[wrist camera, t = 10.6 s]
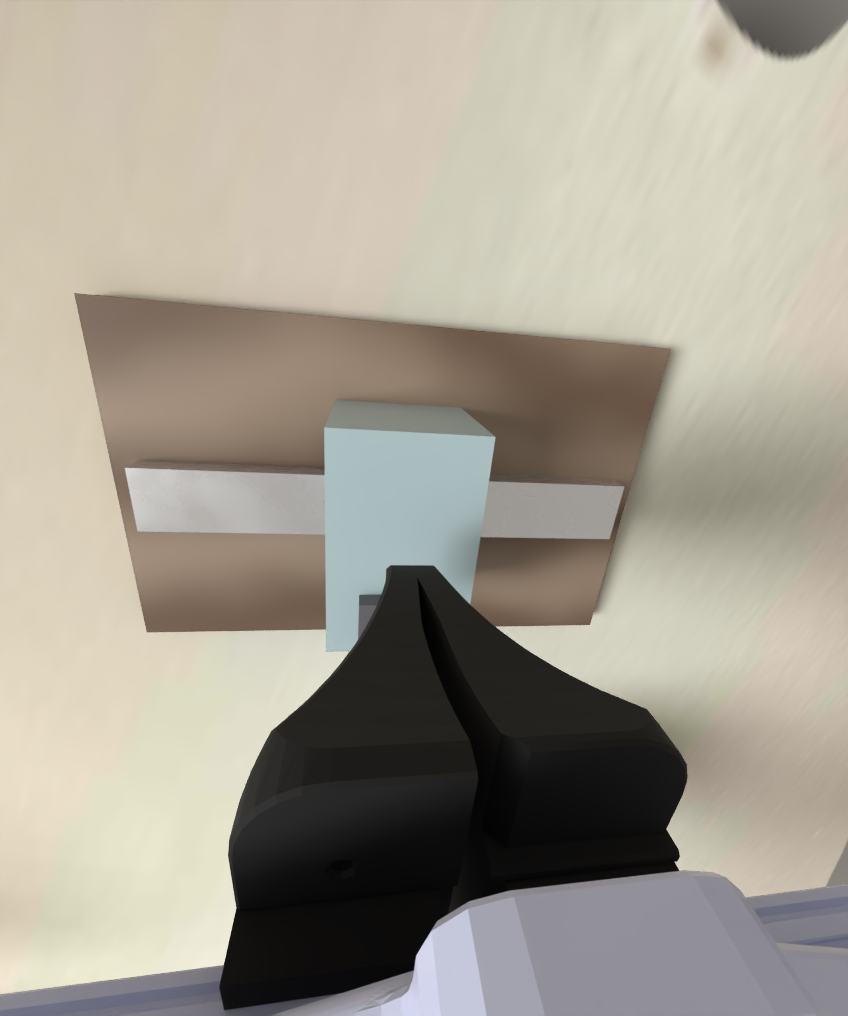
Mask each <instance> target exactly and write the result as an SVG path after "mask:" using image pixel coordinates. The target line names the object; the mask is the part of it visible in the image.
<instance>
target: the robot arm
mask: <svg viewBox="0 0 848 1016" xmlns="http://www.w3.org/2000/svg"><path fill="white" fill-rule="evenodd" d="M686 782H687V764H686V762H685V761H684V759H683V757H682V755H681V754H680V752H679V751H678V749H677V748H676V747H675V745H674V744H673V743H672V741H671V740H670V739H669V737H668V736H667V735H666V733H665V732H664V731H663V729H662V728H661V727H660V725H659V724H658V723H657V721H656V720H655V719H654V717H653V716H652V715H651V714H650V713H649V711H648V710H647V709H645V708H642V707H640V706H638V705H635V704H633V703H630V702H628V701H625V700H623V699H621V698H618V697H616V696H613V695H611V694H608V693H606V692H604V691H601V690H599V689H597V688H595V687H593V686H591V685H589V684H587V683H585V682H582V681H580V680H578V679H576V678H574V677H572V676H570V675H569V674H567V673H565V672H563V671H561V670H559V669H557V668H556V667H554V666H552V665H550V664H549V663H547V662H546V661H544V660H542V659H541V658H539V657H537V656H536V655H534V654H532V653H531V652H529V651H528V650H526V649H525V648H523V647H522V646H520V645H519V644H517V643H516V642H515V641H513V640H512V639H511V638H509V637H508V636H507V635H505V634H504V633H502V632H501V631H500V630H499V629H497V628H496V627H495V626H494V625H492V624H491V623H490V622H489V621H488V620H487V619H486V618H484V617H483V616H482V615H481V614H480V613H479V612H478V611H477V610H476V609H474V608H473V607H472V606H471V605H470V604H469V603H468V602H467V601H466V600H465V599H464V598H463V597H462V596H461V595H460V594H459V593H458V591H457V590H456V589H455V588H454V587H453V586H452V585H451V584H450V583H449V582H448V581H447V579H446V578H445V577H444V576H443V575H442V574H441V573H440V572H439V570H438V569H437V568H436V567H435V566H434V565H390V566H389V567H388V568H387V569H386V581H385V585H384V588H383V591H382V594H381V596H380V599H379V601H378V604H377V606H376V608H375V610H374V612H373V614H372V616H371V618H370V620H369V622H368V624H367V626H366V628H365V629H364V631H363V633H362V634H361V636H360V637H359V639H358V641H357V642H356V644H355V645H354V647H353V648H352V649H351V651H350V652H349V653H348V655H347V656H346V657H345V659H344V660H343V661H342V663H341V664H340V665H339V666H338V668H337V669H336V670H335V671H334V672H333V674H332V675H331V676H330V677H329V678H328V679H327V680H326V681H325V682H324V683H323V684H322V685H321V686H320V687H319V688H318V690H317V691H316V692H315V693H314V694H313V695H312V696H311V697H310V698H309V699H308V700H307V701H306V702H305V703H304V704H303V705H301V706H300V707H299V708H298V709H297V710H296V711H294V712H293V713H292V714H291V715H290V716H289V717H287V718H286V719H285V720H284V721H283V722H282V723H280V724H279V725H278V726H277V727H276V728H275V729H273V730H272V731H271V733H270V735H269V737H268V738H267V740H266V742H265V744H264V746H263V748H262V750H261V752H260V754H259V756H258V758H257V760H256V762H255V764H254V766H253V769H252V771H251V773H250V776H249V778H248V780H247V783H246V786H245V788H244V791H243V793H242V796H241V799H240V802H239V805H238V809H237V813H236V816H235V820H234V824H233V828H232V831H231V835H230V839H229V852H228V857H229V864H230V870H231V876H232V883H233V889H234V895H235V901H236V907H237V909H236V913H235V918H234V922H233V927H232V931H231V936H230V940H229V945H228V949H227V954H226V958H225V963H224V965H223V966H215V967H207V968H200V969H192V970H184V971H176V972H169V973H161V974H153V975H146V976H138V977H130V978H123V979H115V980H107V981H99V982H92V983H84V984H76V985H69V986H61V987H53V988H46V989H38V990H30V991H23V992H15V993H7V994H0V1016H848V884H846V885H838V886H831V887H823V888H815V889H807V890H800V891H792V892H784V893H777V894H769V895H761V896H754V897H746V898H745V896H744V895H743V893H742V892H741V891H740V890H739V889H738V888H737V887H736V886H735V885H734V884H733V883H732V882H730V881H729V880H728V879H727V878H726V877H723V876H721V875H719V874H716V873H714V872H700V871H685V870H684V871H679V869H678V867H677V866H676V864H675V861H678V859H679V857H680V855H679V850H678V848H677V846H676V845H675V843H674V841H673V840H672V838H671V837H670V835H669V833H668V832H667V830H666V828H667V826H668V824H669V822H670V820H671V818H672V816H673V814H674V812H675V810H676V808H677V805H678V803H679V801H680V799H681V797H682V795H683V792H684V789H685V785H686Z"/></svg>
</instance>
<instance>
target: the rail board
mask: <svg viewBox="0 0 848 1016" xmlns="http://www.w3.org/2000/svg"><path fill="white" fill-rule="evenodd" d="M74 294H75V299H76V303H77V308H78V313H79V317H80V322H81V327H82V331H83V336H84V341H85V345H86V350H87V355H88V359H89V364H90V369H91V373H92V378H93V383H94V387H95V392H96V397H97V401H98V406H99V411H100V415H101V420H102V425H103V429H104V434H105V439H106V443H107V448H108V453H109V457H110V462H111V467H112V471H113V476H114V481H115V485H116V490H117V495H118V499H119V504H120V509H121V513H122V518H123V523H124V527H125V532H126V537H127V541H128V546H129V551H130V555H131V560H132V565H133V569H134V574H135V579H136V583H137V588H138V593H139V597H140V602H141V607H142V611H143V616H144V621H145V625H146V630H147V632H194V631H253V630H312V629H326V569H325V457H324V427H325V424H326V422H327V420H328V417H329V415H330V412H331V410H332V407H333V405H334V402H335V400H350V401H366V402H381V403H397V404H413V405H428V406H444V407H459V408H462V409H463V410H464V411H465V412H467V413H468V414H469V415H470V416H471V417H473V418H474V419H475V420H476V421H477V422H479V423H480V424H481V425H482V426H483V427H485V428H486V429H487V430H488V431H489V432H490V433H492V434H493V435H494V436H495V437H496V438H495V444H494V451H493V457H492V464H491V471H490V477H489V484H488V490H487V497H486V504H485V510H484V517H483V523H482V530H481V537H480V543H479V550H478V556H477V563H476V570H475V576H474V583H473V589H472V596H471V603H470V605H471V606H472V607H473V608H474V609H476V610H477V611H478V612H479V613H480V614H481V615H482V616H483V617H484V618H486V619H487V620H488V621H489V622H490V623H491V624H492V625H494V626H549V625H590V622H591V619H592V615H593V612H594V609H595V605H596V602H597V598H598V595H599V591H600V588H601V585H602V581H603V578H604V574H605V571H606V567H607V564H608V561H609V557H610V554H611V550H612V547H613V543H614V540H615V537H616V533H617V530H618V526H619V523H620V519H621V516H622V513H623V509H624V506H625V502H626V499H627V495H628V492H629V489H630V485H631V482H632V478H633V475H634V471H635V468H636V464H637V461H638V458H639V454H640V451H641V447H642V444H643V440H644V437H645V434H646V430H647V427H648V423H649V420H650V416H651V413H652V410H653V406H654V403H655V399H656V396H657V392H658V389H659V386H660V382H661V379H662V375H663V372H664V368H665V365H666V362H667V358H668V355H669V351H670V349H667V348H656V347H646V346H635V345H624V344H613V343H603V342H592V341H581V340H571V339H560V338H549V337H538V336H528V335H517V334H506V333H495V332H485V331H474V330H463V329H453V328H442V327H431V326H420V325H410V324H399V323H388V322H377V321H367V320H356V319H345V318H335V317H324V316H313V315H302V314H292V313H281V312H270V311H260V310H249V309H238V308H227V307H217V306H206V305H195V304H184V303H174V302H163V301H152V300H142V299H131V298H120V297H109V296H99V295H88V294H77V293H74Z"/></svg>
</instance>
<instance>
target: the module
mask: <svg viewBox="0 0 848 1016" xmlns="http://www.w3.org/2000/svg"><path fill="white" fill-rule="evenodd" d="M495 438H496V437H495V436H494V435H493V434H492V433H490V432H489V431H488V430H487V429H486V428H485V427H483V426H482V425H481V424H480V423H479V422H477V421H476V420H475V419H474V418H473V417H471V416H470V415H469V414H468V413H467V412H465V411H464V410H463V409H462V408H459V407H444V406H428V405H413V404H397V403H381V402H366V401H350V400H335V402H334V405H333V407H332V410H331V412H330V415H329V417H328V420H327V422H326V424H325V427H324V457H325V569H326V652H332V651H351V649H352V648H353V647H354V645H355V644H356V642H357V641H358V639H359V637H360V636H361V634H362V633H363V631H364V629H365V628H366V626H367V624H368V622H369V620H370V618H371V616H372V614H373V612H374V610H375V608H376V606H377V604H378V601H379V599H380V596H381V594H382V591H383V588H384V585H385V581H386V569H387V568H388V567H389V566H390V565H434V566H435V567H436V568H437V569H438V570H439V572H440V573H441V574H442V575H443V576H444V577H445V578H446V579H447V581H448V582H449V583H450V584H451V585H452V586H453V587H454V588H455V589H456V590H457V591H458V593H459V594H460V595H461V596H462V597H463V598H464V599H465V600H466V601H467V602H468V603H469V604H470V603H471V596H472V589H473V583H474V576H475V570H476V563H477V556H478V550H479V543H480V537H481V530H482V523H483V517H484V510H485V504H486V497H487V490H488V484H489V477H490V471H491V464H492V457H493V451H494V444H495Z"/></svg>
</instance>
